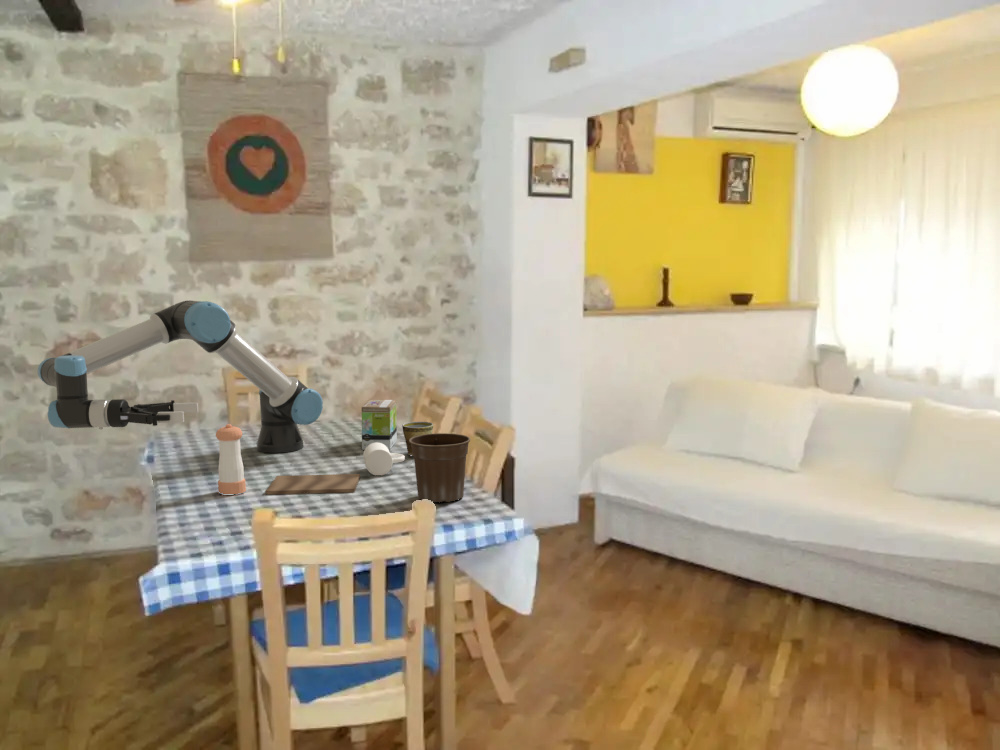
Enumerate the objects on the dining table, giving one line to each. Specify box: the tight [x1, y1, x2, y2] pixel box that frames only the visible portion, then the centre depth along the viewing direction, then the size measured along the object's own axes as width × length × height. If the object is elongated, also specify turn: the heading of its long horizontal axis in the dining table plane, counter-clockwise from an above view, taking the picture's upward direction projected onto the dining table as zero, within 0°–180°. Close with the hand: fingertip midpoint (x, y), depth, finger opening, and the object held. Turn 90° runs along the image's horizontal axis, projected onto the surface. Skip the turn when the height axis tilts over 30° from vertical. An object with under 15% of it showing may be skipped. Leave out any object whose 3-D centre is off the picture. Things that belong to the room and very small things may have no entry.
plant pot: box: [409, 432, 471, 504], centre depth 236 cm, size 16×16×16 cm
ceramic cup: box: [401, 421, 434, 456], centre depth 287 cm, size 13×10×10 cm
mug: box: [362, 442, 406, 476], centre depth 265 cm, size 12×10×8 cm
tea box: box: [361, 399, 398, 451], centre depth 299 cm, size 15×10×15 cm, turn 179°
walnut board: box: [265, 473, 361, 495], centre depth 250 cm, size 24×16×1 cm, turn 93°
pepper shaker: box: [215, 423, 247, 494], centre depth 243 cm, size 7×7×19 cm
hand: (190, 412), depth 240 cm, fingers open, 13 cm apart
